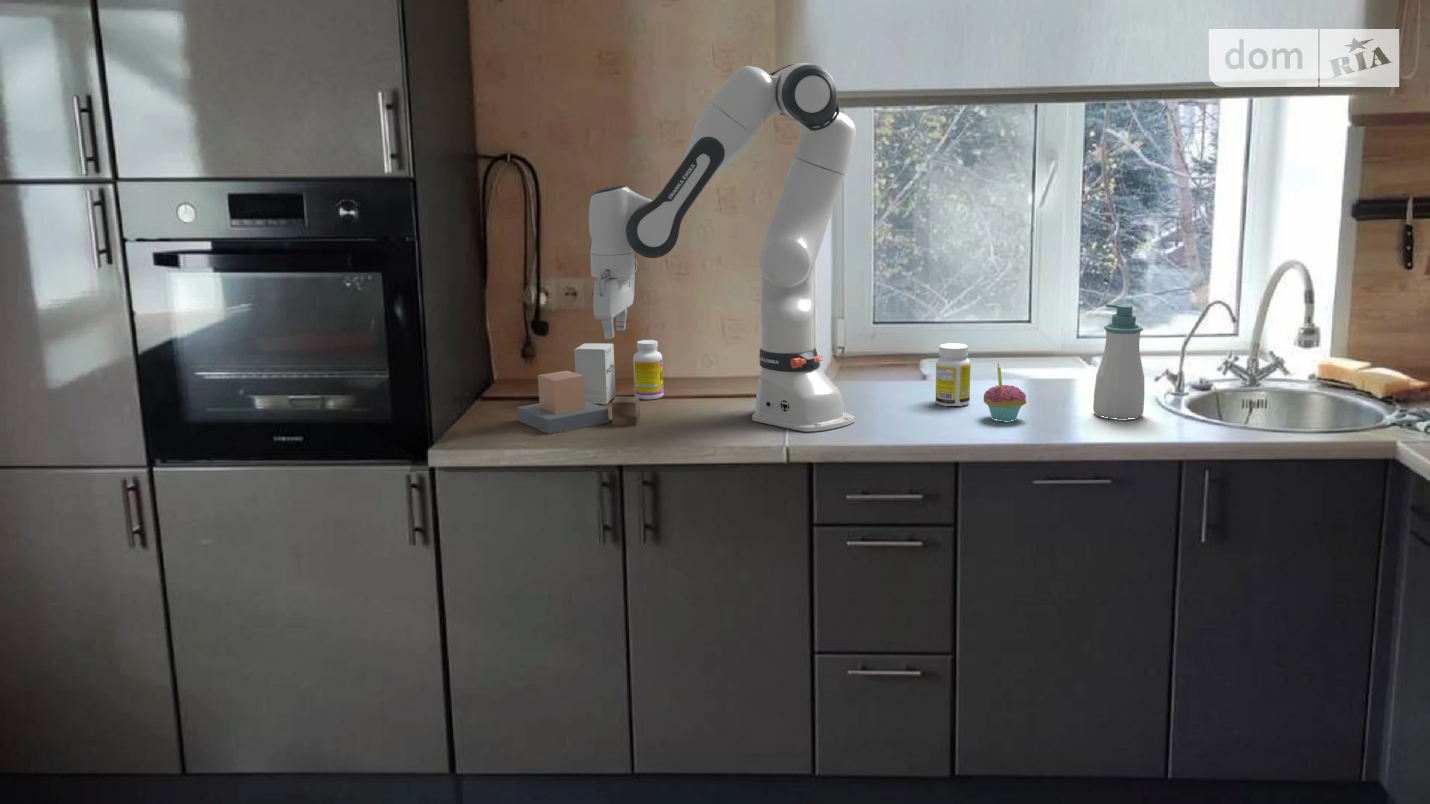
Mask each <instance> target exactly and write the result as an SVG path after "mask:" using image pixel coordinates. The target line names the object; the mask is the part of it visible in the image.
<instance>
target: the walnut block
mask: <svg viewBox="0 0 1430 804" xmlns="http://www.w3.org/2000/svg"><path fill="white" fill-rule="evenodd" d="M640 413H641V412H640V399H639V397H635V396H615V397H614V398H613V399H612V400H611V417H612V418H611V421H612V426H637V425H638V424H639V422H640V420H641V415H640Z"/></svg>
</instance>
